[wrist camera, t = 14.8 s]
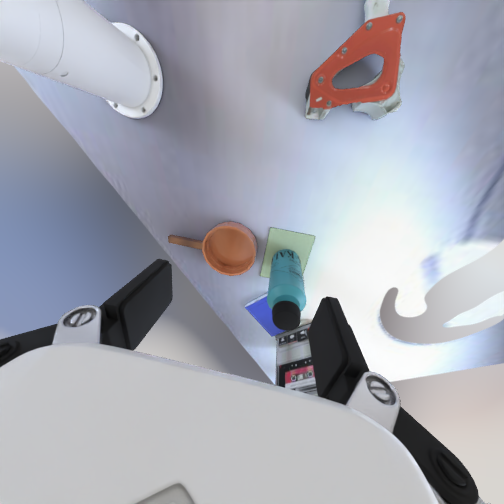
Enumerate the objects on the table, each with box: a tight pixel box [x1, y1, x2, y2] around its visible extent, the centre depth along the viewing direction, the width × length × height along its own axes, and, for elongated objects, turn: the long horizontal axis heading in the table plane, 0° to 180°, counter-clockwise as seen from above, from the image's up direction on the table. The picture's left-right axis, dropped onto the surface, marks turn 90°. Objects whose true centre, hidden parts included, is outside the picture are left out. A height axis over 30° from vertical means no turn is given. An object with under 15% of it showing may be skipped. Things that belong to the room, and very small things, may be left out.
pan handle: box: [168, 235, 203, 250], centre depth 43 cm, size 8×2×1 cm, turn 81°
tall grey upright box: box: [275, 324, 319, 397], centre depth 42 cm, size 14×6×25 cm, turn 124°
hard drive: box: [245, 293, 285, 336], centre depth 51 cm, size 2×8×12 cm
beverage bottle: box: [267, 249, 306, 331], centre depth 35 cm, size 6×7×20 cm
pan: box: [202, 221, 258, 276], centre depth 43 cm, size 12×12×4 cm
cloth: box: [260, 227, 315, 278], centre depth 44 cm, size 10×13×1 cm
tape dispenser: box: [305, 0, 405, 120], centre depth 26 cm, size 18×5×20 cm
